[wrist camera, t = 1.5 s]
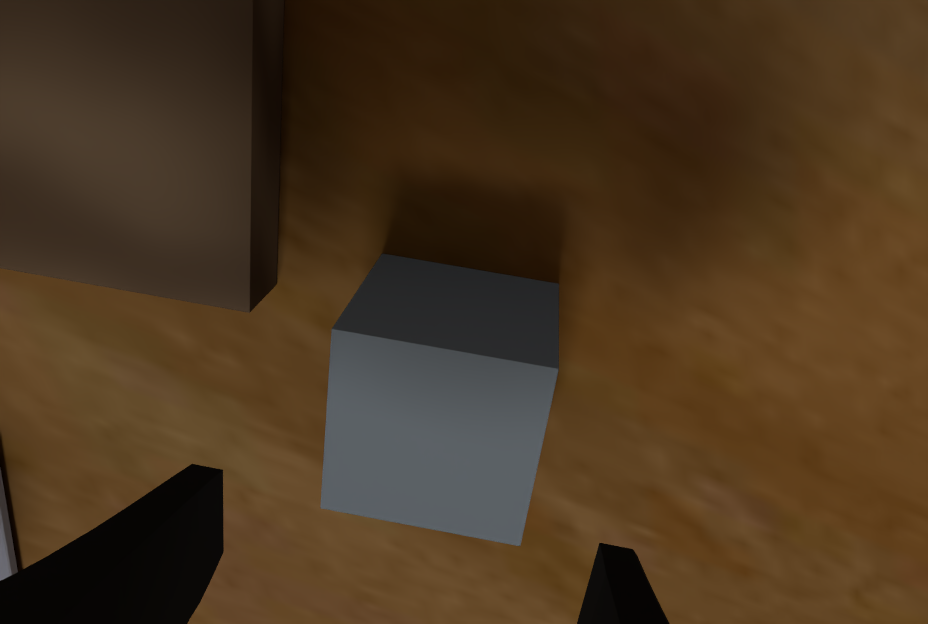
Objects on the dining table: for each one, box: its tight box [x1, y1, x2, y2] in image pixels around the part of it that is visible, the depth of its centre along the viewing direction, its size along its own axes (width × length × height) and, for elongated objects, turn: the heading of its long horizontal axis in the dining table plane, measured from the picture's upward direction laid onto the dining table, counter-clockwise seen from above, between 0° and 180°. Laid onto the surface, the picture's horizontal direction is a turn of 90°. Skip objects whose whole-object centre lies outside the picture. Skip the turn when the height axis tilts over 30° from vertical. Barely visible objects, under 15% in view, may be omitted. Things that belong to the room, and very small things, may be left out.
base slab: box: [0, 0, 284, 313], centre depth 17 cm, size 14×7×2 cm, turn 172°
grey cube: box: [321, 254, 559, 546], centre depth 19 cm, size 5×5×5 cm
